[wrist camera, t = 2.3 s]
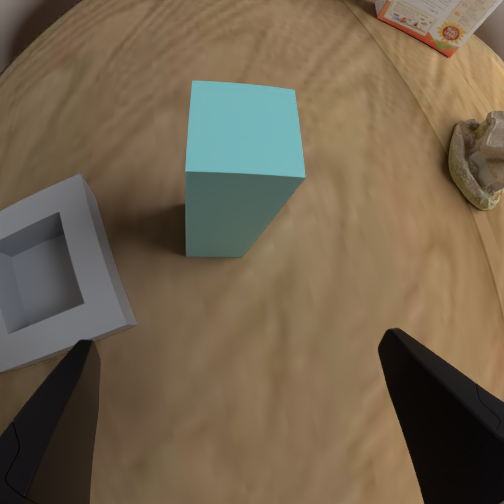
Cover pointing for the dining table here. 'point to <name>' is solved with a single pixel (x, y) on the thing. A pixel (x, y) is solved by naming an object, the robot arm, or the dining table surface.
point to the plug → (238, 164)
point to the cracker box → (436, 19)
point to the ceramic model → (479, 159)
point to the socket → (56, 276)
